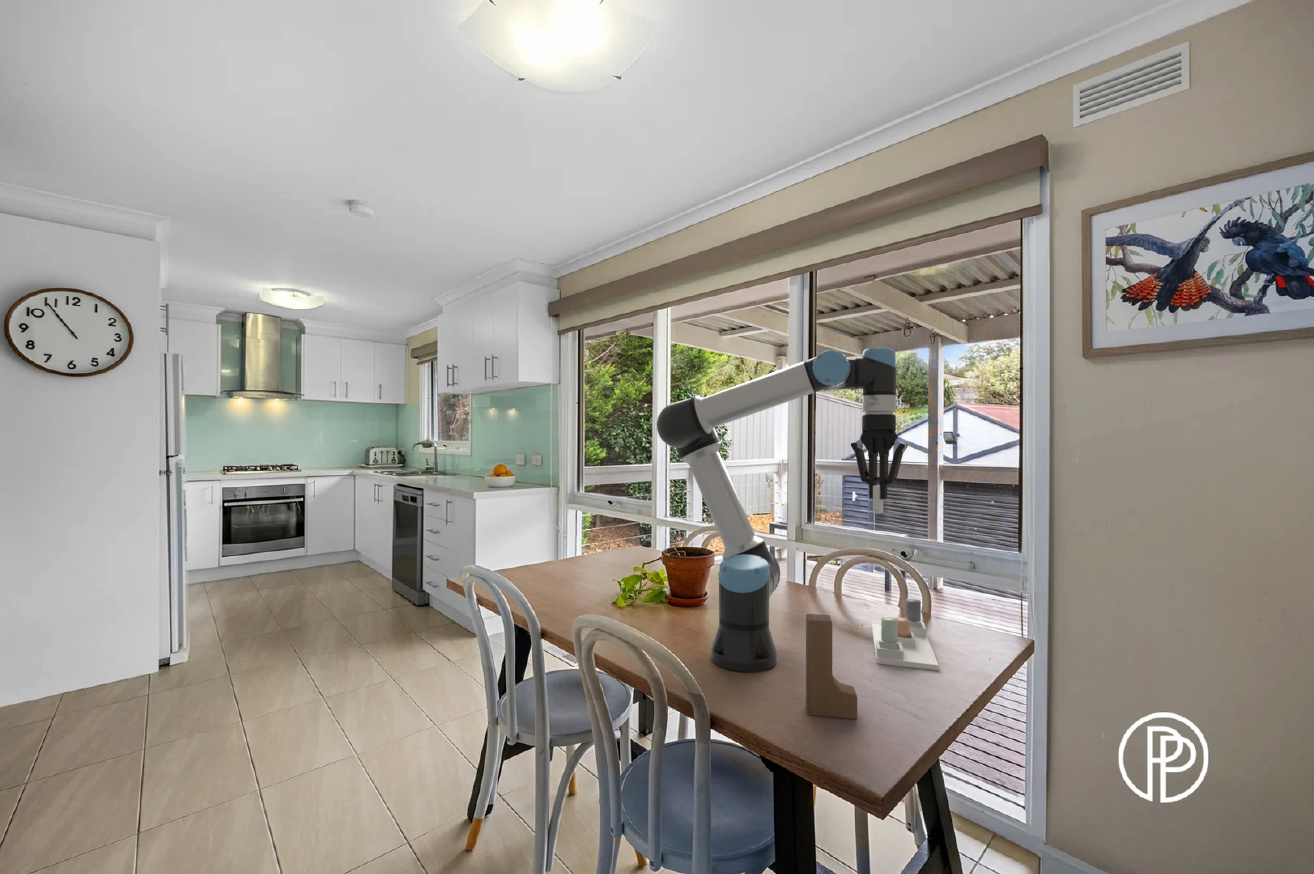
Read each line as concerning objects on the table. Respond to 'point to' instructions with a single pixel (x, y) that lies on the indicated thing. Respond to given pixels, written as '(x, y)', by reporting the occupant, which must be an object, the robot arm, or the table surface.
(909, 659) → the button board
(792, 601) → the table surface
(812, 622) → the wooden block
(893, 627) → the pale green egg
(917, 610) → the charcoal plunger
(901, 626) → the terracotta plunger
